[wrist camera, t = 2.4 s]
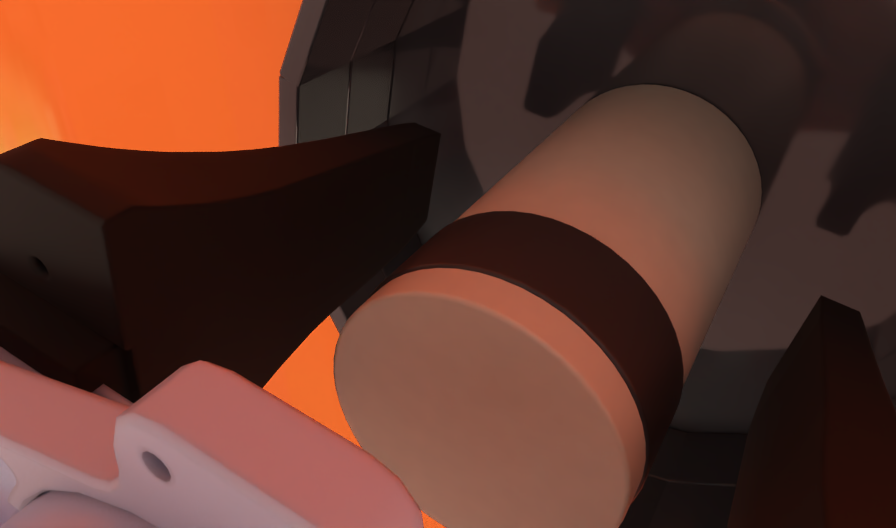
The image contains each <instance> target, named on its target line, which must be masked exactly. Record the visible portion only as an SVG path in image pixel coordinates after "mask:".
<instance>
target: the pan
mask: <svg viewBox="0 0 896 528" xmlns="http://www.w3.org/2000/svg"><path fill="white" fill-rule="evenodd" d="M641 84H646V85H661V86H667V87H672V88H676V89H679V90H683V91H686V92H688V93H691V94H693V95H695V96H698V97H700V98H702V99H703V100H705V101H707V102H708V103H710V104H712V105H713V106H715V107H716V108H717V109H719V110H720V111H721V112H722V113H724V114H725V115H726V116H727V117H728V118H729V119H730V120H731V121H732V122H733V123H734V124H735V125H736V126H737V128H738V129H739V130H740V132H741V133H742V134H743V136H744V137H745V138H746V140H747V142H748V144H749V145H750V147H751V149H752V151H753V153H754V156H755V159H756V161H757V164H758V168H759V172H760V177H761V188H762V196H761V206H760V210H759V214H758V218H757V221H756V223H755V226H754V228H753V230H752V233H751V235H750V237H749V239H748V242H747V244H746V246H745V248H744V251H743V253H742V255H741V257H740V260H739V262H738V264H737V266H736V269H735V271H734V273H733V275H732V278H731V280H730V282H729V284H728V287H727V289H726V291H725V293H724V296H723V298H722V300H721V302H720V305H719V307H718V309H717V311H716V314H715V316H714V318H713V320H712V323H711V325H710V327H709V329H708V331H707V334H706V336H705V338H704V340H703V343H702V345H701V347H700V349H699V352H698V354H697V356H696V358H695V361H694V363H693V365H692V367H691V370H690V372H689V374H688V376H687V379H686V381H685V383H684V385H683V389H682V394H681V399H680V403H679V405H678V407H677V410H676V412H675V415H674V417H673V419H672V422H671V424H670V426H669V428H668V431H667V433H666V435H665V437H664V440H663V442H662V444H661V447H660V449H659V451H658V453H657V456H656V458H655V460H654V462H653V465H652V467H651V469H650V472H649V474H648V476H647V478H646V481H645V483H644V485H643V488H642V489H641V491H640V492H639V494H638V495H637V497H636V498H635V500H634V501H633V502H632V503H631V504H630V507H629V509H628V511H627V513H626V516H625V518H624V520H623V522H622V523H621V524H620V526H619V527H618V528H727V524H728V520H729V515H730V511H731V507H732V502H733V498H734V493H735V489H736V484H737V480H738V475H739V471H740V466H741V462H742V457H743V453H744V449H745V444H746V440H747V436H748V432H749V427H750V425H751V422H752V419H753V417H754V414H755V411H756V409H757V406H758V403H759V401H760V398H761V396H762V393H763V391H764V388H765V385H766V383H767V380H768V379H769V377H770V376H771V374H772V372H773V371H774V369H775V368H776V366H777V364H778V363H779V361H780V360H781V358H782V356H783V355H784V353H785V352H786V350H787V348H788V347H789V345H790V344H791V342H792V340H793V339H794V337H795V336H796V334H797V333H798V331H799V329H800V328H801V326H802V325H803V323H804V321H805V320H806V318H807V317H808V315H809V313H810V312H811V310H812V309H813V307H814V305H815V304H816V302H817V301H818V299H819V297H820V296H821V295H822V296H824V297H827V298H829V299H831V300H834V301H836V302H838V303H841V304H843V305H845V306H848V307H850V308H852V309H855V310H857V311H860V313H861V316H862V319H863V321H864V324H865V327H866V331H867V334H868V337H869V340H870V343H871V346H872V349H873V352H874V355H875V358H876V361H877V364H878V367H879V370H880V372H881V375H882V378H883V381H884V383H885V386H886V388H887V391H888V393H889V396H890V398H891V401H892V403H893V406H894V408H895V411H896V0H303V1H302V4H301V7H300V10H299V13H298V17H297V20H296V23H295V26H294V29H293V32H292V35H291V39H290V42H289V45H288V48H287V51H286V54H285V57H284V61H283V64H282V67H281V70H280V76H279V146H285V145H291V144H297V143H303V142H310V141H316V140H322V139H327V138H332V137H337V136H342V135H347V134H351V133H356V132H361V131H366V130H371V129H376V128H381V127H386V126H391V125H397V124H403V123H413V122H415V123H417V124H420V125H422V126H424V127H427V128H429V129H431V130H434V131H436V132H438V133H441V137H440V143H439V149H438V156H437V162H436V168H435V174H434V180H433V186H432V193H431V199H430V205H429V211H428V217H427V221H426V222H425V223H424V224H423V226H422V227H421V228H420V229H419V231H418V232H417V233H416V234H415V236H414V237H413V238H412V239H411V240H410V242H409V243H408V244H407V245H406V246H405V247H404V248H403V250H402V251H401V252H400V253H399V254H398V255H397V256H396V257H395V258H394V259H393V260H392V261H390V262H389V263H388V264H387V265H386V266H385V267H384V268H383V269H382V270H380V271H379V272H378V273H377V274H376V275H375V276H374V277H373V278H371V279H370V280H369V281H368V282H367V283H366V284H364V285H363V286H362V287H361V288H360V289H359V290H358V291H356V292H355V293H354V294H353V295H352V296H351V297H350V298H348V299H347V300H346V301H345V302H344V303H343V304H342V305H340V306H339V307H338V308H337V309H336V310H335V311H334V312H332V313H331V314H330V316H331V318H332V320H333V322H334V324H335V326H336V328H337V330H338V332H339V334H340V333H341V330H342V328H343V327H344V325H345V323H346V322H347V320H348V319H349V317H350V316H351V315H352V314H353V313H354V312H355V311H356V310H357V309H358V308H359V307H360V306H361V305H362V304H363V303H364V302H366V301H367V299H368V297H369V296H370V294H371V293H372V292H373V291H374V290H375V288H376V287H377V286H378V285H379V284H380V283H381V282H382V281H383V280H385V279H386V278H387V277H388V276H389V275H390V274H391V273H392V272H393V271H395V270H396V269H397V268H398V267H399V266H400V265H401V264H402V263H404V262H405V261H406V260H407V259H408V258H409V257H410V256H411V255H412V254H414V253H415V252H416V251H417V250H418V249H419V248H420V247H421V246H423V245H424V244H425V243H426V242H427V241H428V240H429V239H430V238H431V237H433V236H434V235H435V234H436V233H437V232H439V231H440V230H441V229H443V228H444V227H446V226H447V225H449V224H451V223H453V222H454V221H455V220H456V219H458V218H459V217H460V216H461V215H462V214H463V213H464V212H465V211H466V210H467V209H469V208H470V207H471V206H472V205H473V204H474V203H475V202H476V201H477V200H479V199H480V198H481V197H482V196H483V195H484V194H485V193H486V192H487V191H489V190H490V189H491V188H492V187H493V186H494V185H495V184H496V183H497V182H499V181H500V180H501V179H502V178H503V177H504V176H505V175H506V174H507V173H508V172H510V171H511V170H512V169H513V168H514V167H515V166H516V165H517V164H518V163H520V162H521V161H522V160H523V159H524V158H525V157H526V156H527V155H528V154H530V153H531V152H532V151H533V150H534V149H535V148H536V147H537V146H538V145H539V144H541V143H542V142H543V141H544V140H545V139H546V138H547V137H548V136H549V135H551V134H552V133H553V132H554V131H555V130H556V129H557V128H558V127H559V126H561V125H562V124H563V123H564V122H565V121H566V120H567V119H568V118H569V117H570V116H572V115H573V114H574V113H575V112H576V111H577V110H578V109H579V108H581V107H582V106H583V105H585V104H586V103H587V102H588V101H590V100H591V99H593V98H595V97H597V96H599V95H600V94H603V93H605V92H608V91H610V90H613V89H616V88H621V87H625V86H631V85H641Z"/></svg>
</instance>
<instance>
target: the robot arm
mask: <svg viewBox="0 0 896 528" xmlns="http://www.w3.org/2000/svg"><path fill="white" fill-rule="evenodd" d="M440 137H441V133H438V132H436V131H434V130H431V129H429V128H427V127H424V126H422V125H420V124H417V123H415V122H413V123H403V124H397V125H391V126H386V127H381V128H376V129H371V130H366V131H361V132H356V133H351V134H347V135H342V136H337V137H332V138H327V139H322V140H316V141H310V142H303V143H297V144H291V145H285V146H279V147H272V148H263V149H254V150H240V151H226V152H156V151H138V150H126V149H115V148H105V147H97V146H90V145H83V144H76V143H69V142H62V141H55V140H49V139H43V138H40V139H36V140H34V141H32V142H29V143H27V144H24V145H22V146H19V147H17V148H14V149H12V150H10V151H7V152H5V153H2V154H0V528H424V526H423V519H422V514H421V510H420V507H419V506H418V504H417V503H416V501H415V500H414V498H413V497H412V495H411V494H410V492H409V491H408V489H407V488H406V486H405V485H404V483H403V482H402V480H401V479H400V478H399V477H398V476H397V475H396V474H394V473H393V472H392V471H391V470H390V469H388V468H387V467H386V466H385V465H384V464H382V463H381V462H380V461H379V460H377V459H376V458H375V457H374V456H373V455H371V454H370V453H368V452H367V451H365V450H363V449H362V448H360V447H358V446H357V445H355V444H353V443H352V442H350V441H348V440H347V439H345V438H343V437H342V436H340V435H339V434H337V433H335V432H334V431H332V430H330V429H329V428H327V427H325V426H324V425H322V424H320V423H319V422H317V421H315V420H314V419H312V418H310V417H309V416H307V415H305V414H304V413H302V412H300V411H299V410H297V409H295V408H294V407H292V406H290V405H289V404H287V403H286V402H284V401H282V400H281V399H279V398H277V397H276V396H274V395H272V394H271V393H269V392H267V391H266V390H264V389H262V388H263V387H264V386H265V384H266V383H267V382H268V381H269V380H270V378H271V377H272V376H273V375H274V374H275V373H276V371H277V370H278V369H279V368H280V367H281V365H282V364H283V363H284V362H285V361H286V360H287V359H288V358H289V356H290V355H291V354H292V353H293V352H294V351H295V350H296V349H297V348H298V347H299V345H300V344H301V343H302V342H303V341H304V340H305V339H306V338H307V337H308V335H309V334H310V333H311V332H312V331H313V330H314V329H315V328H316V327H317V326H318V325H319V324H320V323H321V322H323V321H324V320H325V319H326V318H327V317H328V316H329V315H330V314H331V313H332V312H334V311H335V310H336V309H337V308H338V307H339V306H340V305H342V304H343V303H344V302H345V301H346V300H347V299H348V298H350V297H351V296H352V295H353V294H354V293H355V292H356V291H358V290H359V289H360V288H361V287H362V286H363V285H364V284H366V283H367V282H368V281H369V280H370V279H371V278H373V277H374V276H375V275H376V274H377V273H378V272H379V271H380V270H382V269H383V268H384V267H385V266H386V265H387V264H388V263H389V262H390V261H392V260H393V259H394V258H395V257H396V256H397V255H398V254H399V253H400V252H401V251H402V250H403V248H404V247H405V246H406V245H407V244H408V243H409V242H410V240H411V239H412V238H413V237H414V236H415V234H416V233H417V232H418V231H419V229H420V228H421V227H422V226H423V224H424V223H425V222H426V221H427V217H428V211H429V205H430V199H431V193H432V186H433V180H434V174H435V168H436V162H437V156H438V149H439V143H440ZM727 528H896V411H895V408H894V406H893V403H892V401H891V398H890V396H889V393H888V391H887V388H886V386H885V383H884V381H883V378H882V375H881V372H880V370H879V367H878V364H877V361H876V358H875V355H874V352H873V349H872V346H871V343H870V340H869V337H868V334H867V331H866V327H865V324H864V321H863V319H862V316H861V313H860V311H857V310H855V309H852V308H850V307H848V306H845V305H843V304H841V303H838V302H836V301H834V300H831V299H829V298H827V297H824V296H822V295H821V296H820V297H819V299H818V301H817V302H816V304H815V305H814V307H813V309H812V310H811V312H810V313H809V315H808V317H807V318H806V320H805V321H804V323H803V325H802V326H801V328H800V329H799V331H798V333H797V334H796V336H795V337H794V339H793V340H792V342H791V344H790V345H789V347H788V348H787V350H786V352H785V353H784V355H783V356H782V358H781V360H780V361H779V363H778V364H777V366H776V368H775V369H774V371H773V372H772V374H771V376H770V377H769V379H768V380H767V383H766V385H765V388H764V391H763V393H762V396H761V398H760V401H759V403H758V406H757V409H756V411H755V414H754V417H753V419H752V422H751V425H750V427H749V432H748V436H747V440H746V444H745V449H744V453H743V457H742V462H741V466H740V471H739V475H738V480H737V484H736V489H735V493H734V498H733V502H732V507H731V511H730V515H729V520H728V524H727Z"/></svg>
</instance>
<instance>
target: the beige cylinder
mask: <svg viewBox="0 0 896 528" xmlns="http://www.w3.org/2000/svg"><path fill="white" fill-rule="evenodd" d="M761 196H762V188H761V177H760V172H759V168H758V164H757V161H756V159H755V156H754V153H753V151H752V149H751V147H750V145H749V144H748V142H747V140H746V138H745V137H744V136H743V134H742V133H741V132H740V130H739V129H738V128H737V126H736V125H735V124H734V123H733V122H732V121H731V120H730V119H729V118H728V117H727V116H726V115H725V114H724V113H722V112H721V111H720V110H719V109H717V108H716V107H715V106H713V105H712V104H710V103H708V102H707V101H705V100H703V99H702V98H700V97H698V96H695V95H693V94H691V93H688V92H686V91H683V90H679V89H676V88H672V87H667V86H661V85H646V84H641V85H631V86H625V87H621V88H616V89H613V90H610V91H608V92H605V93H603V94H600V95H599V96H597V97H595V98H593V99H591V100H590V101H588V102H587V103H586V104H585V105H583V106H582V107H581V108H579V109H578V110H577V111H576V112H575V113H574V114H573V115H572V116H570V117H569V118H568V119H567V120H566V121H565V122H564V123H563V124H562V125H561V126H559V127H558V128H557V129H556V130H555V131H554V132H553V133H552V134H551V135H549V136H548V137H547V138H546V139H545V140H544V141H543V142H542V143H541V144H539V145H538V146H537V147H536V148H535V149H534V150H533V151H532V152H531V153H530V154H528V155H527V156H526V157H525V158H524V159H523V160H522V161H521V162H520V163H518V164H517V165H516V166H515V167H514V168H513V169H512V170H511V171H510V172H508V173H507V174H506V175H505V176H504V177H503V178H502V179H501V180H500V181H499V182H497V183H496V184H495V185H494V186H493V187H492V188H491V189H490V190H489V191H487V192H486V193H485V194H484V195H483V196H482V197H481V198H480V199H479V200H477V201H476V202H475V203H474V204H473V205H472V206H471V207H470V208H469V209H467V210H466V211H465V212H464V213H463V214H462V215H461V216H460V217H459V218H458V219H456V220H455V221H454V222H453V223H451V224H449V225H447V226H446V227H444V228H443V229H441V230H440V231H439V232H437V233H436V234H435V235H434V236H433V237H431V238H430V239H429V240H428V241H427V242H426V243H425V244H424V245H423V246H421V247H420V248H419V249H418V250H417V251H416V252H415V253H414V254H412V255H411V256H410V257H409V258H408V259H407V260H406V261H405V262H404V263H402V264H401V265H400V266H399V267H398V268H397V269H396V270H395V271H393V272H392V273H391V274H390V275H389V276H388V277H387V278H386V279H385V280H383V281H382V282H381V283H380V284H379V285H378V286H377V287H376V288H375V290H374V291H373V292H372V293H371V294H370V296H369V297H368V299H367V301H366V302H364V303H363V304H362V305H361V306H360V307H359V308H358V309H357V310H356V311H355V312H354V313H353V314H352V315H351V316H350V317H349V319H348V320H347V322H346V323H345V325H344V327H343V328H342V330H341V333H340V336H339V339H338V341H337V344H336V348H335V355H334V379H335V386H336V391H337V395H338V398H339V402H340V405H341V408H342V410H343V413H344V415H345V418H346V420H347V422H348V424H349V426H350V428H351V430H352V432H353V434H354V436H355V437H356V439H357V441H358V442H359V444H360V446H361V447H362V449H363V450H365V451H367V452H368V453H370V454H371V455H373V456H374V457H375V458H376V459H377V460H379V461H380V462H381V463H382V464H384V465H385V466H386V467H387V468H388V469H390V470H391V471H392V472H393V473H394V474H396V475H397V476H398V477H399V478H400V479H401V480H402V482H403V483H404V485H405V486H406V488H407V489H408V491H409V492H410V494H411V495H412V497H413V498H414V500H415V501H416V503H417V504H418V506H419V507H420V510H422V511H423V512H424V513H425V514H427V515H428V516H430V517H431V518H433V519H434V520H436V521H437V522H439V523H440V524H442V525H443V526H445V527H447V528H618V527H619V526H620V524H621V523H622V522H623V520H624V518H625V516H626V513H627V511H628V509H629V507H630V504H631V503H632V502H633V501H634V500H635V498H636V497H637V495H638V494H639V492H640V491H641V489H642V488H643V485H644V483H645V481H646V478H647V476H648V474H649V472H650V469H651V467H652V465H653V462H654V460H655V458H656V456H657V453H658V451H659V449H660V447H661V444H662V442H663V440H664V437H665V435H666V433H667V431H668V428H669V426H670V424H671V422H672V419H673V417H674V415H675V412H676V410H677V407H678V405H679V403H680V399H681V394H682V389H683V385H684V383H685V381H686V379H687V376H688V374H689V372H690V370H691V367H692V365H693V363H694V361H695V358H696V356H697V354H698V352H699V349H700V347H701V345H702V343H703V340H704V338H705V336H706V334H707V331H708V329H709V327H710V325H711V323H712V320H713V318H714V316H715V314H716V311H717V309H718V307H719V305H720V302H721V300H722V298H723V296H724V293H725V291H726V289H727V287H728V284H729V282H730V280H731V278H732V275H733V273H734V271H735V269H736V266H737V264H738V262H739V260H740V257H741V255H742V253H743V251H744V248H745V246H746V244H747V242H748V239H749V237H750V235H751V233H752V230H753V228H754V226H755V223H756V221H757V218H758V214H759V210H760V206H761Z"/></svg>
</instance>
